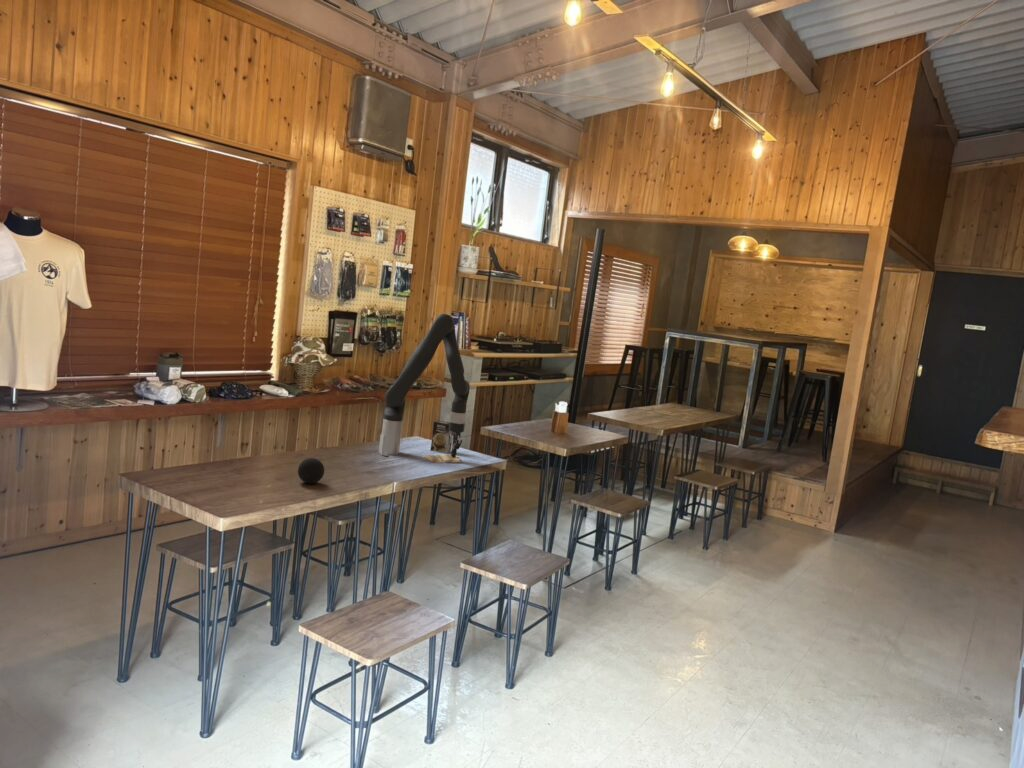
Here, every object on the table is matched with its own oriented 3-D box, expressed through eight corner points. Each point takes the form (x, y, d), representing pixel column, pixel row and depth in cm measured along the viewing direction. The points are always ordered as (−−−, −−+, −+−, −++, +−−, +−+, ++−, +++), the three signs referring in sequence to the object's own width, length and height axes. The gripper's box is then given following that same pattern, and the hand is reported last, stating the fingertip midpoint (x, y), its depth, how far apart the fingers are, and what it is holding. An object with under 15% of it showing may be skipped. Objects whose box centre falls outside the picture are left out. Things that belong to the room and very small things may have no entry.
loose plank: (443, 462, 344) (444, 460, 344) (436, 457, 354) (437, 454, 354) (461, 462, 347) (462, 459, 347) (454, 456, 357) (454, 454, 357)
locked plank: (431, 463, 341) (431, 460, 341) (424, 457, 351) (424, 455, 351) (443, 463, 344) (443, 460, 344) (436, 457, 354) (436, 455, 354)
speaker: (328, 484, 286) (330, 460, 285) (306, 487, 278) (308, 462, 277) (313, 478, 292) (315, 454, 291) (291, 481, 285) (293, 456, 284)
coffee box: (429, 452, 367) (433, 421, 365) (434, 450, 373) (438, 419, 371) (446, 455, 364) (449, 424, 363) (451, 453, 370) (454, 422, 369)
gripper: (445, 418, 354) (441, 453, 356) (454, 423, 342) (450, 459, 344) (460, 419, 357) (456, 453, 359) (469, 424, 345) (465, 460, 347)
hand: (453, 456), depth 351 cm, fingers closed
